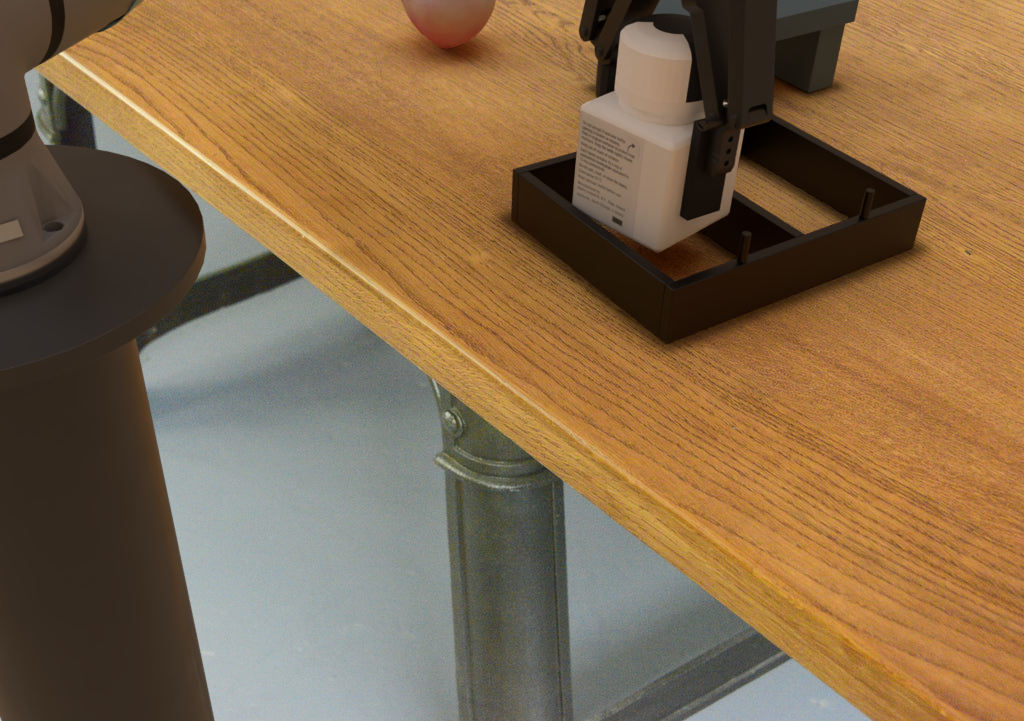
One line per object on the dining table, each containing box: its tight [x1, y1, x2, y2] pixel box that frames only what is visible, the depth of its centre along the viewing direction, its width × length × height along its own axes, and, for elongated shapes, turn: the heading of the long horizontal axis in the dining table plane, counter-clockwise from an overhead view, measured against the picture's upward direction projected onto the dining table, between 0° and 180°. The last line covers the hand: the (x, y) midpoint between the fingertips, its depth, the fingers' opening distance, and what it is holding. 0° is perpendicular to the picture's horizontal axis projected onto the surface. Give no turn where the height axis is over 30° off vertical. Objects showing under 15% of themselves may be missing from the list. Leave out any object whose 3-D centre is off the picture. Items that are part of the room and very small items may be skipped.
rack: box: [510, 113, 928, 345], centre depth 80 cm, size 18×22×6 cm
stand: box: [595, 0, 860, 93], centre depth 99 cm, size 11×20×8 cm, turn 123°
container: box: [572, 13, 744, 253], centre depth 73 cm, size 8×8×13 cm
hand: (654, 181), depth 76 cm, fingers closed on container, 8 cm apart
